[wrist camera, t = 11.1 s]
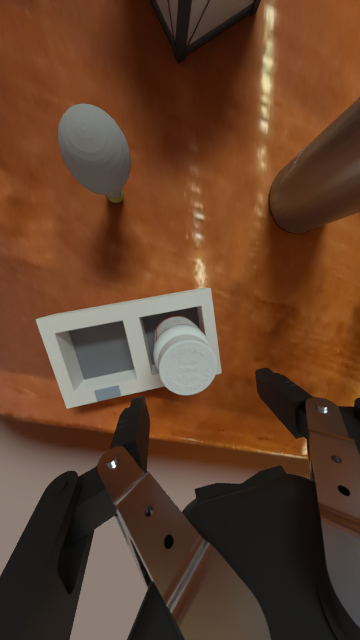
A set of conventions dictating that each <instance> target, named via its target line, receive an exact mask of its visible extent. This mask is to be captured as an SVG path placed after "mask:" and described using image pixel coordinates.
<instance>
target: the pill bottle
mask: <svg viewBox="0 0 360 640" xmlns="http://www.w3.org/2000/svg"><path fill="white" fill-rule="evenodd" d="M153 357H154V363H155V365H156V368H157V369H158V371H159V376H160V379H161V381H162V383H163V384H164V386H165V387H166V388H167V389H168V390H170V391H172V392H174V393H176V394H179V395H193V394H196V393H199V392H201V391H203V390H204V389H206V388H207V387H208V386H209V385H210V384H211V382H212V381H213V379H214V377H215V374H216V371H217V361H216V357H215V355H214V353H213V351H212V350H211V345H210V343H209V340H208V339H207V337H206V336H205V334H204V333H203V332H202V331H201V330H200V329H199V328H198V327H197V326H196V325H195V324H194V323H193V322H192V321H190V320H189V319H188V318H186V317H184V316H182V315H170V316H167V317H165V318H164V319H162V320H161V321H160V322H159V323H158V325H157V327H156V329H155V333H154V350H153Z"/></svg>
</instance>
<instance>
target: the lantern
mask: <svg viewBox="0 0 360 640" xmlns="http://www.w3.org/2000/svg"><path fill="white" fill-rule="evenodd" d="M150 1H151V3H152V6H153V8H154V10H155V12H156V14H157V16H158V18H159V20H160V23H161V25H162V27H163V29H164V31H165V33H166V35H167V37H168V40H169V42H170V44H171V46H172V48H173V50H174V56H175V58H176V60H177V62H178V63H180V62H181V61H183V60H184V59H185V56H187V55H188V54H190V53H191V52H193V51H195V50H196V49H198V48H199V47H201V46H202V45H204V44H205V43H207V42H208V41H210V40H211V39H213V38H214V37H216V36H217V35H219V34H220V33H222V32H223V31H225V30H226V29H228V28H229V27H231V26H232V25H234V24H235V23H237V22H238V21H240V20H241V19H243V18H244V17H246V16H247V15H249V14H250V16H251V15H252V14H254V13H255V12H257V9H258V7H259V4H260V1H261V0H150Z"/></svg>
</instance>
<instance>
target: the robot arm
mask: <svg viewBox="0 0 360 640" xmlns="http://www.w3.org/2000/svg"><path fill="white" fill-rule="evenodd" d="M270 208H271V212H272V215H273V217H274V219H275V221H276V223H277V224H278V225H279V226H280V227H281V228H283V229H284V230H286V231H288V232H291V233H302V232H306V231H308V230H311V229H314V228H317V227H319V226H322V225H325V224H328V223H331V222H334V221H336V220H339V219H342V218H345V217H347V216H350V215H353V214H356V213H358V212H360V98H358V99H357V100H356V101H355V102H354V103H353V104H352V105H351V106H350V107H349V108H348V109H347V110H346V111H344V112H343V113H342V114H341V115H340V116H339V117H338V118H337V119H336V120H335V121H334V122H333V123H331V124H330V125H329V126H328V127H327V128H326V129H325V130H324V131H323V132H322V133H321V134H320V135H318V136H317V137H316V138H315V139H314V140H313V141H312V142H311V143H310V144H309V145H308V146H306V147H305V148H304V149H303V150H302V151H301V152H300V153H299V154H298V155H297V156H296V157H295V158H294V159H292V160H291V161H290V162H289V163H288V164H287V165H286V166H285V167H284V168H283V169H282V170H281V171H280V172H279V173H278V175H277V176H276V178H275V179H274V182H273V184H272V187H271V192H270ZM255 374H256V383H257V391H258V394H259V396H260V398H261V399H262V400H263V401H264V403H265V404H266V405H267V406H268V407H269V408H270V409H271V411H272V412H273V413H274V414H275V415H276V416H277V417H278V419H279V420H280V421H281V422H282V423H283V424H284V425H285V426H286V428H287V429H288V430H289V431H290V432H291V433H292V434H293V436H294V437H295V438H296V439H297V438H300V437H305V438H306V439H307V450H308V461H309V470H310V480H309V479H307V478H304V477H301V476H297V475H292V474H286V472H285V471H284V469H283V468H282V466H277V467H273V468H270V469H266V470H263V471H260V472H258V473H257V474H255V475H254V476H252V477H251V478H249V479H248V480H246V481H245V482H244V483H242V484H229V483H228V484H227V483H215V484H212V485H208V486H204V487H201V488H197V489H195V493H196V499H195V500H193V501H192V502H191V503H190V504H188V505H187V506H186V508H185V509H184V510H183V511H182V512H181V511H180V510H179V508H178V507H177V506H176V505H175V504H174V502H173V501H172V500H171V499H170V497H169V496H168V495H167V494H166V492H165V491H164V490H163V489H162V488H161V487H160V485H159V484H158V483H157V481H156V480H155V479H154V478H153V476H152V475H151V474H150V473H149V472H148V471H146V470H147V457H148V444H149V431H150V419H149V414H148V410H147V406H146V402H145V399H144V396H142V397H137V398H133V399H132V401H131V405H130V407H129V408H125V409H124V411H123V412H122V413H121V415H120V417H119V420H118V424H117V427H116V430H115V433H114V437H113V440H112V443H111V447H110V449H109V450H108V451H107V452H106V453H104V455H103V456H102V457H101V458H100V460H99V462H98V465H97V466H96V467H95V468H93V469H92V470H90V471H88V472H86V473H84V474H82V475H81V476H79V477H78V474H77V473H76V472H75V471H68V472H65V473H63V474H61V475H60V476H58V477H57V478H55V479H54V480H53V481H52V482H51V483H50V484H49V485H48V487H47V488H46V489H45V491H44V493H43V495H42V497H41V499H40V500H39V502H38V504H37V506H36V508H35V510H34V512H33V514H32V516H31V518H30V520H29V522H28V524H27V526H26V528H25V530H24V532H23V533H22V535H21V537H20V539H19V541H18V543H17V545H16V547H15V549H14V551H13V553H12V555H11V557H10V559H9V561H8V563H7V564H6V567H5V568H4V570H3V572H2V574H1V576H0V640H69V639H70V635H71V631H72V626H73V622H74V617H75V613H76V609H77V604H78V600H79V595H80V591H81V586H82V582H83V578H84V573H85V569H86V565H87V560H88V555H89V551H90V547H91V542H92V538H93V534H94V529H95V528H97V527H98V526H100V525H101V524H103V523H104V522H106V521H107V520H109V519H110V518H112V517H113V516H114V517H115V518H116V521H117V523H118V525H119V527H120V529H121V531H122V533H123V535H124V538H125V540H126V542H127V544H128V546H129V549H130V551H131V552H132V555H133V557H134V560H135V562H136V565H137V567H138V569H139V571H140V574H141V576H142V578H143V581H144V583H145V585H146V587H147V589H148V590H147V592H146V595H145V597H144V600H143V602H142V604H141V607H140V609H139V612H138V614H137V617H136V619H135V622H134V624H133V627H132V629H131V631H130V634H129V636H128V639H127V640H360V398H357V399H356V400H355V404H354V407H343V406H337V405H336V404H334V403H333V402H331V401H329V400H326V399H323V398H316V397H312V396H311V395H310V394H308V393H307V392H306V391H304V390H303V389H301V388H300V387H299V386H297V385H296V384H295V383H293V382H292V381H291V380H289V379H288V378H287V377H285V376H283V375H281V374H278V373H273V372H272V371H271V370H270V369H268V368H263V369H258V370H256V372H255Z"/></svg>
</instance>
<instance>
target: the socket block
mask: <svg viewBox="0 0 360 640" xmlns="http://www.w3.org/2000/svg"><path fill="white" fill-rule="evenodd" d="M170 315H182V316H184V317H186V318H188V319H189V320H190V321H192V322H193V323H194V324H195V325H196V326H197V327H198V328H199V329H200V330H201V331H202V332H203V333H204V334H205V336H206V337H207V339H208V340H209V343H210V345H211V350H212V351H213V353H214V355H215V357H216V361H217V371H216V374H215V375H217V374H221V373H222V372H221V364H220V357H219V349H218V341H217V333H216V325H215V318H214V310H213V302H212V294H211V288H199V289H194V290H188V291H182V292H177V293H171V294H165V295H160V296H154V297H149V298H143V299H137V300H132V301H126V302H120V303H115V304H109V305H103V306H98V307H92V308H86V309H81V310H75V311H70V312H64V313H58V314H53V315H49V316H45V317H42V318H38V319H36V322H37V325H38V328H39V331H40V334H41V336H42V339H43V342H44V345H45V348H46V351H47V354H48V356H49V359H50V362H51V365H52V368H53V371H54V374H55V376H56V379H57V382H58V385H59V388H60V391H61V393H62V396H63V399H64V402H65V405H66V408H67V409H68V408H72V407H76V406H81V405H85V404H89V403H94V402H98V401H103V400H107V399H111V398H116V397H120V396H125V395H129V394H133V393H138V392H142V391H146V390H151V389H155V388H160V387H164V384H163V383H162V381H161V379H160V376H159V371H158V369H157V368H156V365H155V363H154V357H153V350H154V333H155V329H156V327H157V325H158V323H159V322H160V321H161V320H162V319H164V318H165V317H167V316H170Z"/></svg>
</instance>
